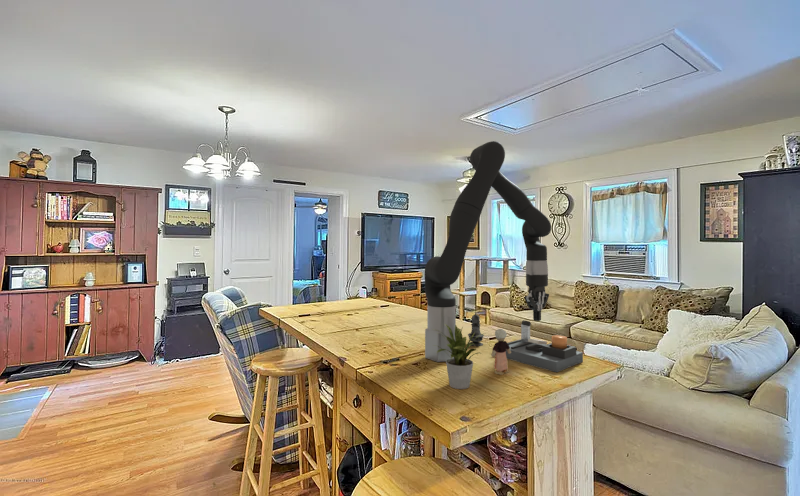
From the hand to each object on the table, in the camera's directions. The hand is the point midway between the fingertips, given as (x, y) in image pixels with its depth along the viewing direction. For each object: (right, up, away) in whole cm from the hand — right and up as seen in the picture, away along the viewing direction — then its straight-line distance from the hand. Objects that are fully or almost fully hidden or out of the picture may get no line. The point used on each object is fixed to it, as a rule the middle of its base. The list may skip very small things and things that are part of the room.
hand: (537, 320), depth 135 cm
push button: (0, -4, -19) cm, 20 cm away
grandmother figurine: (-21, -10, -27) cm, 36 cm away
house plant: (-35, -10, -36) cm, 52 cm away
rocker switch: (-5, -5, -13) cm, 15 cm away
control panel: (-5, -10, -13) cm, 17 cm away
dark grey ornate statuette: (-21, -10, +4) cm, 24 cm away
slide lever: (-6, -7, -4) cm, 10 cm away
